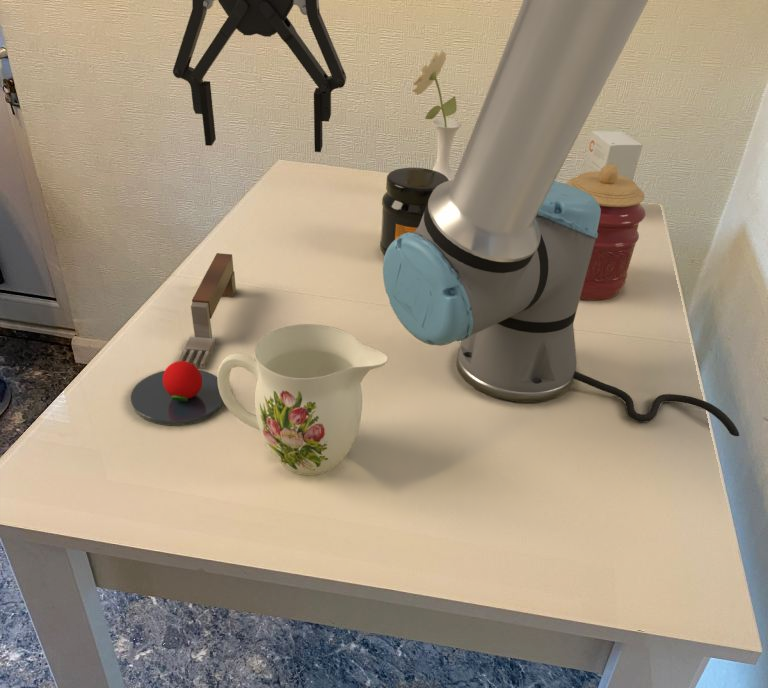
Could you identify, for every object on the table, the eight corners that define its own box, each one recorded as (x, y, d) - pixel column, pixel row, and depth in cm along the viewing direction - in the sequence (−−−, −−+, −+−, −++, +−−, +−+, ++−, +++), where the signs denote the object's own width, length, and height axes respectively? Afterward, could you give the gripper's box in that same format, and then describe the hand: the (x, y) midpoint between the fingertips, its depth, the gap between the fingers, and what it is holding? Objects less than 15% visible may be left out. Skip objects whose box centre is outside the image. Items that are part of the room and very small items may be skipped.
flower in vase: (439, 188, 142) (455, 37, 125) (481, 208, 136) (504, 52, 119) (388, 201, 136) (397, 44, 119) (429, 223, 130) (445, 60, 113)
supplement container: (440, 272, 116) (449, 194, 107) (374, 263, 116) (378, 185, 108) (446, 245, 123) (455, 170, 115) (384, 237, 124) (389, 162, 116)
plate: (246, 393, 88) (245, 389, 88) (179, 437, 82) (179, 433, 81) (179, 362, 93) (178, 358, 92) (111, 402, 86) (110, 397, 85)
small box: (622, 220, 136) (643, 144, 127) (591, 221, 135) (610, 145, 126) (603, 203, 142) (622, 130, 133) (573, 204, 140) (590, 130, 131)
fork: (216, 289, 107) (213, 252, 103) (238, 291, 107) (235, 254, 103) (178, 367, 92) (172, 327, 88) (204, 369, 92) (199, 329, 88)
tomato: (212, 365, 85) (206, 403, 85) (191, 369, 88) (185, 406, 88) (179, 353, 82) (173, 393, 81) (158, 358, 85) (152, 396, 84)
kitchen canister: (536, 293, 112) (562, 173, 100) (543, 259, 121) (567, 144, 109) (622, 307, 110) (659, 186, 98) (623, 271, 120) (657, 156, 107)
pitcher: (244, 410, 86) (234, 301, 77) (393, 441, 83) (401, 332, 74) (203, 467, 78) (187, 354, 69) (366, 503, 75) (372, 390, 66)
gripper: (370, -65, 81) (364, 142, 96) (144, -79, 81) (172, 130, 95) (367, -58, 76) (362, 160, 90) (124, -73, 75) (158, 148, 90)
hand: (264, 145), depth 93 cm, fingers open, 13 cm apart
